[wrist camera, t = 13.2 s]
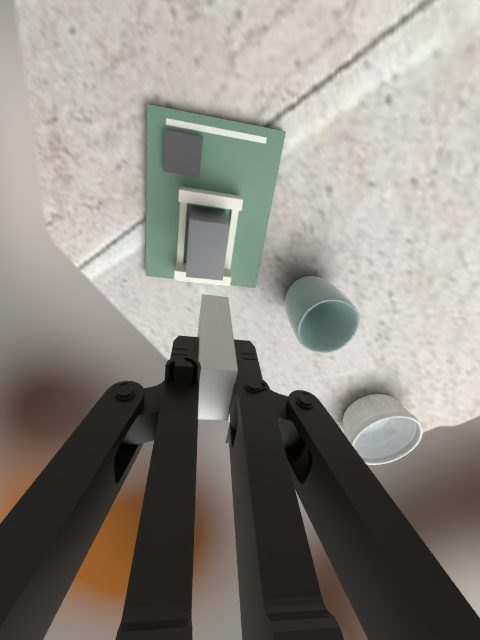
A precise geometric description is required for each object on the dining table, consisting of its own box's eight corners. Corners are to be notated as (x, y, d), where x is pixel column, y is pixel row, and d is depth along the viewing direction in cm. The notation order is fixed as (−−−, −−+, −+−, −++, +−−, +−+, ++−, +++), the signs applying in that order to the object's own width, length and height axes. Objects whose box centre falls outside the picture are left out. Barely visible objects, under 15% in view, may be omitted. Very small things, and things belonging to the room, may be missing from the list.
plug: (192, 206, 36) (189, 219, 29) (225, 210, 37) (229, 225, 30) (189, 258, 39) (185, 282, 32) (219, 262, 40) (222, 285, 33)
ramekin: (413, 408, 60) (436, 437, 54) (360, 444, 64) (376, 474, 58) (378, 376, 55) (399, 404, 49) (323, 417, 59) (336, 447, 53)
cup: (271, 308, 46) (286, 345, 37) (292, 262, 42) (314, 290, 34) (316, 321, 48) (340, 359, 39) (339, 277, 44) (372, 308, 35)
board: (148, 105, 32) (140, 99, 28) (283, 132, 34) (293, 129, 30) (147, 272, 41) (140, 286, 37) (253, 284, 43) (258, 298, 39)
